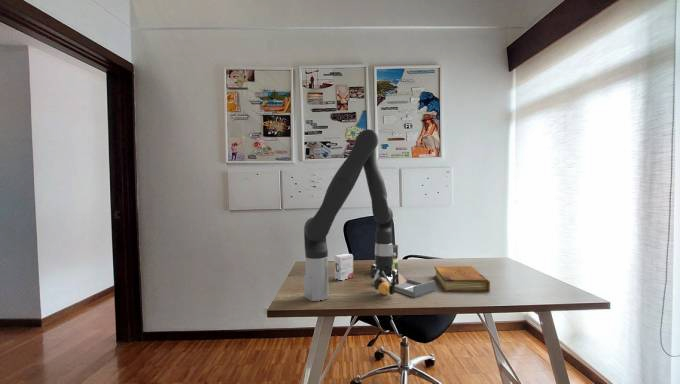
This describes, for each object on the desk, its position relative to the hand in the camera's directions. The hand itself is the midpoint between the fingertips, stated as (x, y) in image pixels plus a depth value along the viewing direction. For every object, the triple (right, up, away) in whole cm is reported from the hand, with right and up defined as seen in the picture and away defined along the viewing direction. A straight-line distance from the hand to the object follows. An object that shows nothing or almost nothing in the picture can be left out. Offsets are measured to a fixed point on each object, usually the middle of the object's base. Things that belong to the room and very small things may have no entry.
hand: (384, 291), depth 139 cm
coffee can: (+7, 0, +34) cm, 35 cm away
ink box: (-17, -1, +24) cm, 29 cm away
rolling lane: (+10, -1, +9) cm, 13 cm away
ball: (0, +1, 0) cm, 1 cm away
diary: (+37, -1, +13) cm, 39 cm away
